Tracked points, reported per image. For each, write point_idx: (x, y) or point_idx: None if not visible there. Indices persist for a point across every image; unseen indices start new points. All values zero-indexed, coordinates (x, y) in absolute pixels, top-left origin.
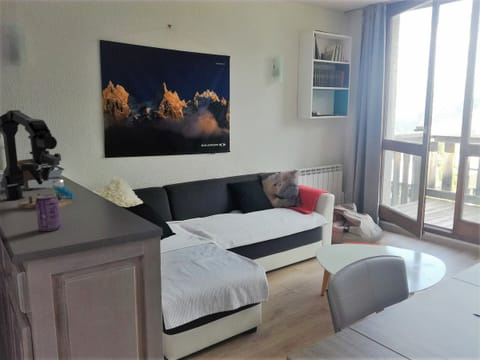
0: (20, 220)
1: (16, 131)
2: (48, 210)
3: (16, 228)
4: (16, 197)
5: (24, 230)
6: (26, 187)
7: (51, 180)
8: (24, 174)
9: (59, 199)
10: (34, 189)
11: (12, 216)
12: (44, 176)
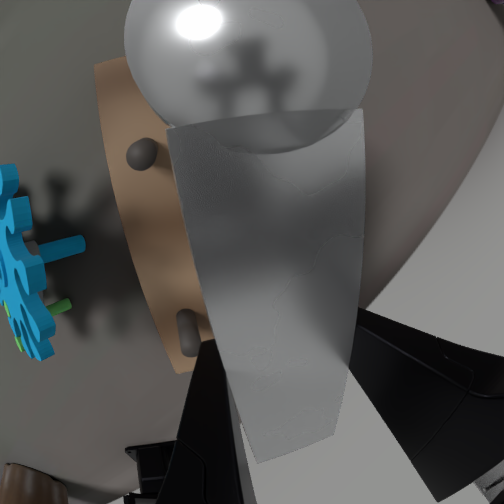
0: (468, 108)
1: None
2: None
3: (500, 69)
4: (166, 452)
5: (500, 39)
6: (64, 491)
7: (315, 178)
8: None
9: (153, 140)
10: (46, 475)
11: (436, 191)
12: (238, 442)
